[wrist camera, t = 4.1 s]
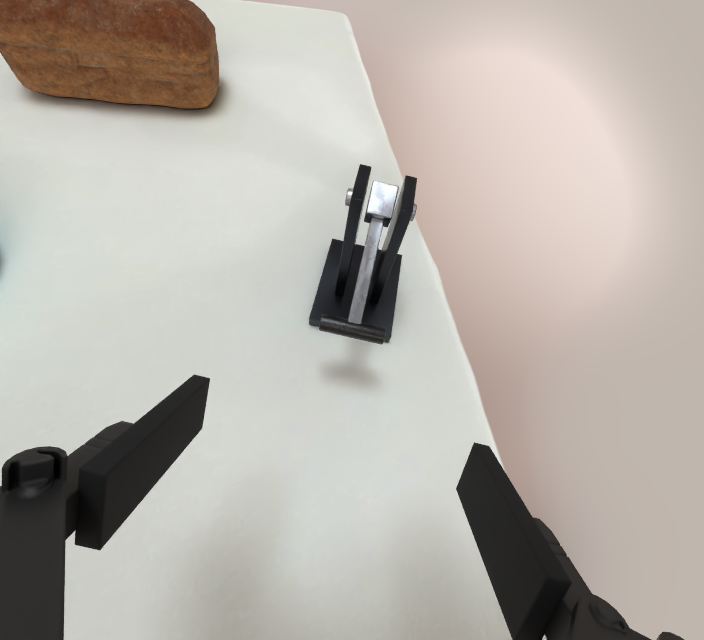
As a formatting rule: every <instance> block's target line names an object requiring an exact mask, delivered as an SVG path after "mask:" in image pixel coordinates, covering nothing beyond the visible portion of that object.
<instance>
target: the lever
mask: <svg viewBox="0 0 704 640" xmlns="http://www.w3.org/2000/svg"><path fill="white" fill-rule="evenodd" d="M398 189H399V187H398V186H395V185H390V184H386V183H382V182H378V181H373V184H372V188H371V192H370V197H369V201H368V206H367V210H366V214H365V219H364V222H367V223H370V225H369V230H368V234H367V238H366V243H365V247H364V252H363V256H362V260H361V265H360V269H359V273H358V278H357V282H356V287H355V291H354V295H353V300H352V304H351V309H350V313H349V317H348V319H344V318H340V317H336V316H331V315H327V314H322V317H321V321H320V326H319V330H320V331H325V332H329V333H333V334H338V335H342V336H347V337H351V338H355V339H360V340H364V341H369V342H373V343H377V344H383V342H384V339H385V335H386V328H384V327H379V326H375V325H370V324H366V323H362V322H361V320H362V316H363V311H364V307H365V303H366V298H367V294H368V289H369V285H370V280H371V276H372V272H373V267H374V263H375V258H376V254H377V250H378V245H379V241H380V236H381V232H382V227H383V226H384V227H388V225H389V223H390V221H391V219H392V215H393V211H394V206H395V202H396V198H397V193H398Z"/></svg>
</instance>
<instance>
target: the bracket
mask: <svg viewBox="0 0 704 640" xmlns="http://www.w3.org/2000/svg"><path fill="white" fill-rule="evenodd" d="M370 172H371V167H370V166H366V165H362V164H360V166H359V170H358V174H357V177H356V181H355V185H354V188H353V189H350V188H349V189H348V192H347V196H346V202H345V205H347V206H349V212H348V218H347V224H346V230H345V236H344V241H340V240H336V239H332V242H331V245H330V249H329V252H328V256H327V259H326V263H325V266H324V269H323V273H322V276H321V280H320V283H319V287H318V290H317V294H316V297H315V301H314V304H313V307H312V311H311V314H310V318H309V324H310V325H314V326H320V321H321V317H322V314H327V315H331V316H336V317H340V318H344V319H348V317H349V313H350V309H351V304H352V300H353V295H354V291H355V287H356V282H357V278H358V273H359V269H360V265H361V260H362V256H363V252H364V247H365V246H362V245H357V244H355V242H356V238H357V233H358V228H359V224H360V219H361V214H362V209H363V205H364V200H365V195H366V191H367V186H368V181H369V176H370ZM416 182H417V178H414V177H411V176H406V177H405V179H404V183H403V186H402V189H401V192H400V195H399V198H398V201H397V205H396V208H395V211H394V214H393V217H392V220H391V223H390V226H389V230H388V233H387V236H386V239H385V242H384V245H383V248H382V250H379V249H378V250H377V254H376V258H375V263H374V267H373V272H372V276H371V280H370V285H369V289H368V294H367V298H366V303H365V307H364V311H363V316H362V320H361V322H362V323H366V324H370V325H375V326H379V327H384V328H386V335H385V339H384V342H388V341H389V340H390V338H391V332H392V325H393V317H394V310H395V303H396V295H397V288H398V281H399V273H400V266H401V259H402V255H400V254H397V253H398V250H399V247H400V245H401V242H402V239H403V237H404V234H405V232H406V229H407V226H408V224H409V221H413V219H414V216H415V213H416V209H417V205H416V204H414V198H415V190H416Z"/></svg>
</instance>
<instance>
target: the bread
mask: <svg viewBox="0 0 704 640" xmlns="http://www.w3.org/2000/svg"><path fill="white" fill-rule="evenodd" d="M0 53H1V54H2V56H3V57H4V59H5V60H6V62H7V63H8V65H9V66H10V68H11V70H12V71H13V73H14V74H15V76H16V77H17V78H18V80H19V81H20V82H21V83H22V85H23V86H24V87H26V88H29V89H31V90H34V91H37V92H39V93H43V94H47V95H52V96H58V97H76V98H86V99H95V100H103V101H109V102H115V103H126V104H150V105H162V106H169V107H176V108H183V109H193V108H204V107H208V105H209V104H210V103H211V102H212V101H213V100H214V98H215V96H216V94H217V91H218V87H219V60H218V51H217V44H216V34H215V27H214V26H213V24H212V23H211V21H210V20H209V19H208V17H207V16H206V14H205V13H204V12H203V11H202V10H201V9H200V8H199V7H197V6H196V5H195V4H194V3H193V2H191V1H189V0H0Z"/></svg>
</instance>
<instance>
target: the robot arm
mask: <svg viewBox="0 0 704 640" xmlns="http://www.w3.org/2000/svg"><path fill="white" fill-rule="evenodd" d="M209 382H210V378H206V377H202V376H198V375H193V376H192V377H191V378H189V379H188V380H187V381H186V382H185V383H183V384H182V385H181V386H180V387H178V388H177V389H176V390H175V391H174V392H172V393H171V394H170V395H169V396H167V397H166V398H165V399H164V400H162V401H161V402H160V403H159V404H158V405H156V406H155V407H154V408H153V409H151V410H150V411H149V412H148V413H147V414H145V415H144V416H143V417H142V418H140V419H139V420H138V421H137V422H136V423H134V424H132V423H128V422H124V421H121V422H118V423H116V424H113V425H111V426H108V427H106V428H105V429H104V430H102V431H101V432H100V433H98V434H97V435H95V437H94V438H91V439H90V440H89V441H87V442H86V443H85V445H82V446H81V447H79V448H78V449H77V450H75V451H74V452H73V453H71V454H70V455H69V456H67V454H66V451H64V450H62V449H60V448H57V447H50V446H48V447H37V448H33V449H29V450H25V451H23V452H20V453H18V454H16V455H14V456H13V457H11V458H10V459H9V460H7V461H6V462H5V464H4V465H3V467H2V486H0V640H64V586H65V540H66V539H67V538H68V537H69V536H70V535H71V534H72V533H73V532H74V531H75V530H76V533H75V545H79V546H83V547H88V548H92V549H97V550H101V548H102V547H103V546H104V545H105V544H106V543H107V541H108V540H109V539H110V538H111V537H112V535H113V534H114V533H115V532H116V531H117V529H118V528H119V527H120V526H121V525H122V523H123V522H124V521H125V520H126V519H127V517H128V516H129V515H130V514H131V513H132V511H133V510H134V509H135V508H136V507H137V505H138V504H139V503H140V502H141V501H142V500H143V498H144V497H145V496H146V495H147V494H148V492H149V491H150V490H151V489H152V488H153V486H154V485H155V484H156V483H157V482H158V480H159V479H160V478H161V477H162V476H163V474H164V473H165V472H166V471H167V470H168V468H169V467H170V466H171V465H172V464H173V463H174V461H175V460H176V459H177V458H178V457H179V455H180V454H181V453H182V452H183V451H184V449H185V448H186V447H187V446H188V445H189V443H190V442H191V441H192V440H193V439H194V437H195V436H196V435H197V434H198V433H199V431H200V430H201V429H202V426H203V420H204V413H205V407H206V401H207V394H208V388H209ZM456 490H457V492H458V495H459V498H460V500H461V503H462V506H463V509H464V511H465V514H466V517H467V519H468V522H469V525H470V527H471V530H472V533H473V535H474V538H475V541H476V543H477V546H478V549H479V551H480V554H481V557H482V559H483V562H484V565H485V567H486V570H487V573H488V575H489V578H490V581H491V583H492V586H493V589H494V591H495V594H496V597H497V599H498V602H499V605H500V607H501V610H502V613H503V615H504V618H505V621H506V623H507V626H508V629H509V631H510V634H511V637H512V640H542V638H543V636H544V634H545V636H546V638H547V640H651V639H649V638H647V637H645V636H643V635H641V634H639V633H638V632H636V631H634V630H632V629H630V628H629V626H628V625H627V623H626V622H625V620H624V618H623V617H622V616H621V615H620V614H619V613H618V612H617V610H615V608H613V607H612V606H611V605H610V604H609V603H607V602H606V601H605V600H603V599H601V598H600V597H598V596H596V595H593V594H592V593H591V591H590V590H589V588H588V587H587V585H586V584H585V582H584V581H583V579H582V577H581V576H580V574H579V573H578V571H577V570H576V568H575V567H574V565H573V564H572V562H571V560H570V559H569V557H567V555H566V553H565V551H564V550H563V548H562V547H561V546H560V544H559V542H558V540H557V539H556V537H555V536H554V534H553V533H552V531H551V530H550V529H549V528H548V527H547V526H546V525H545V524H544V523H543V522H542V521H541V520H540V519H538V518H533V517H532V516H531V514H530V513H529V511H528V510H527V508H526V506H525V505H524V503H523V501H522V499H521V498H520V496H519V495H518V493H517V491H516V490H515V488H514V486H513V485H512V483H511V481H510V480H509V478H508V476H507V475H506V473H505V471H504V470H503V468H502V467H501V465H500V463H499V462H498V460H497V458H496V457H495V455H494V453H493V452H492V450H491V448H490V447H489V446H486V445H482V444H478V443H474V444H473V447H472V449H471V452H470V455H469V457H468V460H467V462H466V465H465V467H464V470H463V472H462V475H461V478H460V480H459V483H458V485H457V488H456ZM657 640H684V639H682V638H681V637H679V636H677V635H675V634H672V633H670V632H662V633H661V634H660V635H659V637H658V638H657Z"/></svg>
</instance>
